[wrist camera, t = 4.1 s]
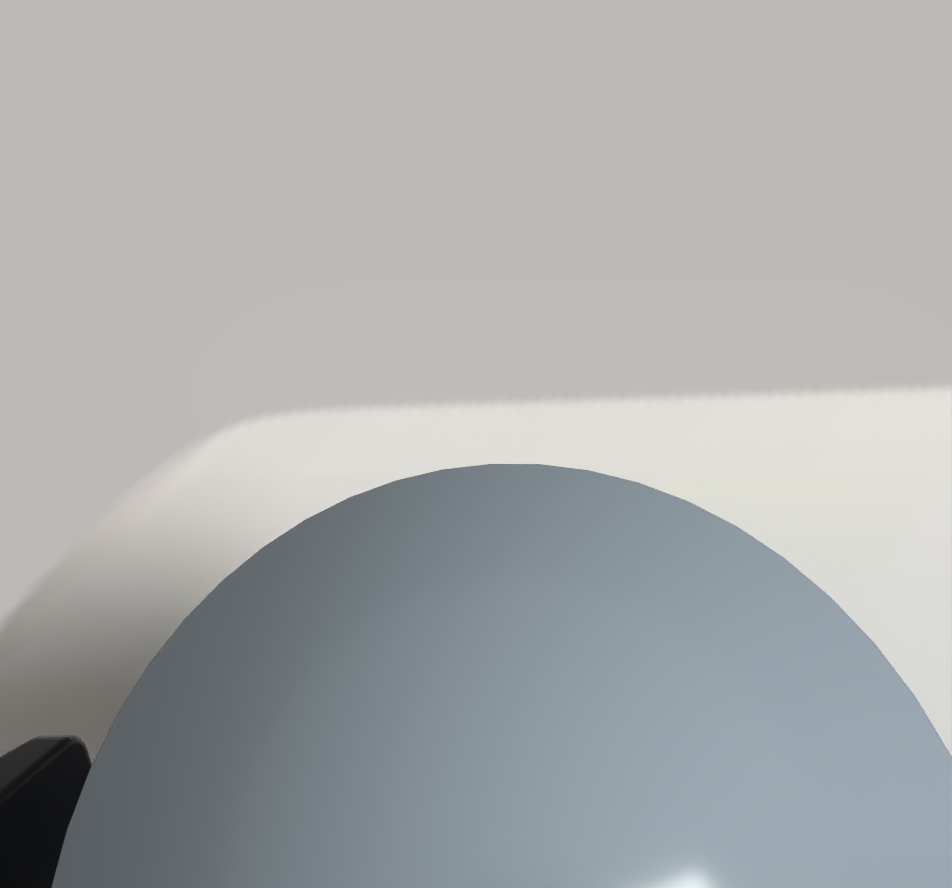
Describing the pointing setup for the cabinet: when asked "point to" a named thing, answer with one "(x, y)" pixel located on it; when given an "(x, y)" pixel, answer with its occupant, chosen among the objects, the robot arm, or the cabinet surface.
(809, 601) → the grey rounded cylinder
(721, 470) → the cabinet surface
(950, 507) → the cabinet surface
